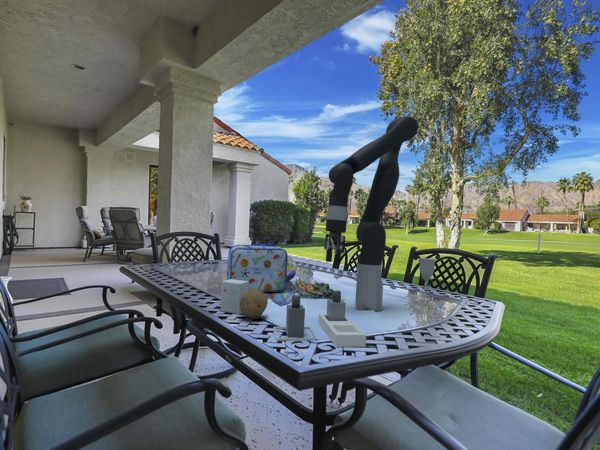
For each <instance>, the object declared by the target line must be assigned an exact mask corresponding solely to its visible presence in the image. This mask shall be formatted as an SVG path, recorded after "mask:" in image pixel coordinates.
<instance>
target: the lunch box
mask: <svg viewBox="0 0 600 450" xmlns="http://www.w3.org/2000/svg"><path fill="white" fill-rule="evenodd" d="M288 255H289V254H288V252H287V250H286V249H284V248H282V247H280V246H277V245H275V242H272V243H269V244H235V245H233V246H231V247H230V249H229V250H228V254H227V266H226V280H229V279H234V280H242V281H249V290H251V289H257V290H260V291H262V292H263V293H274V292H276V293H277V292H281V291H283V290H284V289H285V288H286V284H287V278H288V277H287V276H288V261H289V260H288Z"/></svg>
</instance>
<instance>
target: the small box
mask: <svg viewBox="0 0 600 450" xmlns="http://www.w3.org/2000/svg"><path fill="white" fill-rule="evenodd" d="M220 285H221V287H220V288H221V290H220V291H221V292H220V311H221V312H225V313H231V314H236V315H241V314H243V313H242V312H241V310H240V300H241V297H242V296H243V295H244V294H245V293H246V292H247V291H249V281H242V280H234V279H229V280H227V279H225V280H222V281H221V283H220Z"/></svg>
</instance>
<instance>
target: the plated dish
mask: <svg viewBox="0 0 600 450" xmlns="http://www.w3.org/2000/svg"><path fill="white" fill-rule="evenodd" d="M290 289H291V290H293V294H298V295H299V296H301V298H300V299H306V300H332V297H333V291H334V288H330V284H329V283H325V282H318V280H317V279H314V281H313V283H309V282H306V279H305V278H304V279H302V278H300V275H298V277H297V278H296V281H294V284H293V285H292V286H291V287H290Z"/></svg>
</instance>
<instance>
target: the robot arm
mask: <svg viewBox="0 0 600 450" xmlns="http://www.w3.org/2000/svg"><path fill="white" fill-rule="evenodd" d="M418 131H419V123H418V121H417V119H415V118H414V117H413V116H410V115H404V116H401V117H399V118H396V119H394V120H392V121H391V122H389V124H387V127H386V130H385V133H384V134H382V135H381V136H379V137H378V138H375V139H373V140H372V141H370V142H368V143H366V144H365V145H364V146H362V147H361V148H359V149H358V150H356V151H355V152H354V153H352V154H351V155H350V156H348V157H347V158H345V159H344V160H342V161H340V162H338V163H336V164H335V165H333V166H332V167H331V168H330V169H329V172H328V179H329V181H330V182H331V183H332V184H333V188H332V190H331V191H330V192H329V194H328V195H329V196H328V204H327V210H326V216H325V218H326V221H325V231H326V232H328V233H325V238H324V239H325V240H324V247H323V249H324V250H325V252H326V253H325V261H326V262H330V263H331V262H332V261H333V265H335V266H340V265H341V259H342V255H343V254H344V253H345V250H346V247H345V246H346V236H345V235H343V234H345V233H346V231H347V226H348V225H347V223H348V222H347V221H348V206H349V205H348V204H349V195H350V192H351V188H352V186H353V182H354V175H355V174H357V173H360V172H361V171H363V170H365V169H366V168H367V167H369V166H370V165H372V164H374V162H376V161H378V164H377V167H376V170H375V173H374V176H373V180H372V184H371V187H370V190H369V194H368V198H367V201H366V204H365V207H364V210H363V213H362V216H361V218H360V220H359V222H358V224H357V225H358V226H357V228H356V232H355V235H356V239H357V241H358V243H360V245H361V250H360V251H361V252H360V254H358V256H357V261H356V262H357V266H356V281H355V282H356V287H355V301H354V303H355V309H357V310H359V311H374V312H378V311H383V295H384V294H383V293H384V292H383V291H384V285H383V284H382V269H383V260H384V257H385V251H386V244H387V243H386V242H387V241H386V240H387V232H386V229H385V227H384V225H382V223H381V222H380V221H381V218H382V215H383V214H384V210H386V208H387V206H388V204H389V203H390V201H391V199H392V198H393V196H394V195H395V192H396V189H397V186H398V183H399V179H400V167H399V166H400V165H399V155H400V152H401V148H402V145H403V144H404V143H405V142H408V141H410V140H412V139H414V138H415V137H416V136H417V134H418ZM378 159H379V160H378ZM333 251H334V256H333Z"/></svg>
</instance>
